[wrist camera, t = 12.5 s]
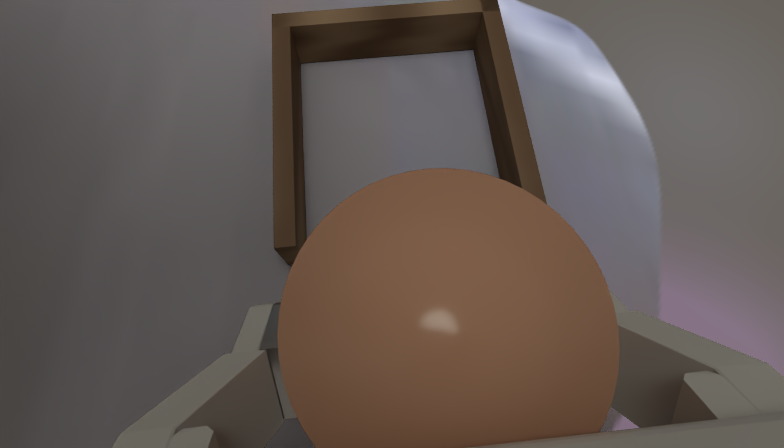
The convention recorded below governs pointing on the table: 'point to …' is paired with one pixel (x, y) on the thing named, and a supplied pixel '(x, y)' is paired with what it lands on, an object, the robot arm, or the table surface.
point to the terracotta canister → (446, 319)
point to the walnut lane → (379, 39)
